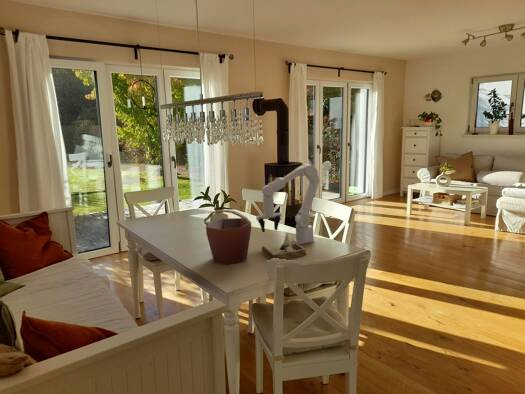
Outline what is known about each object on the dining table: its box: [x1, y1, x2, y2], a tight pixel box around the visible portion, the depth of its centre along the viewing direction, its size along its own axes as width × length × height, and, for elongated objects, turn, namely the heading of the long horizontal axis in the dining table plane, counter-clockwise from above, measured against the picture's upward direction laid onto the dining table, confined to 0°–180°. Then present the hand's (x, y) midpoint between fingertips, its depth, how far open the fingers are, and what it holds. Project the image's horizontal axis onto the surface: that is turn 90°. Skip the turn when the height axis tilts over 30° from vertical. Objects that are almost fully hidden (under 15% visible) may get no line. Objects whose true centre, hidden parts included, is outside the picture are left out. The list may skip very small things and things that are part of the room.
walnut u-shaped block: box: [261, 240, 307, 260], centre depth 194 cm, size 18×15×3 cm
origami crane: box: [278, 232, 298, 253], centre depth 193 cm, size 11×10×10 cm
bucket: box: [203, 209, 252, 266], centre depth 188 cm, size 24×22×25 cm
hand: (269, 230), depth 208 cm, fingers open, 7 cm apart
